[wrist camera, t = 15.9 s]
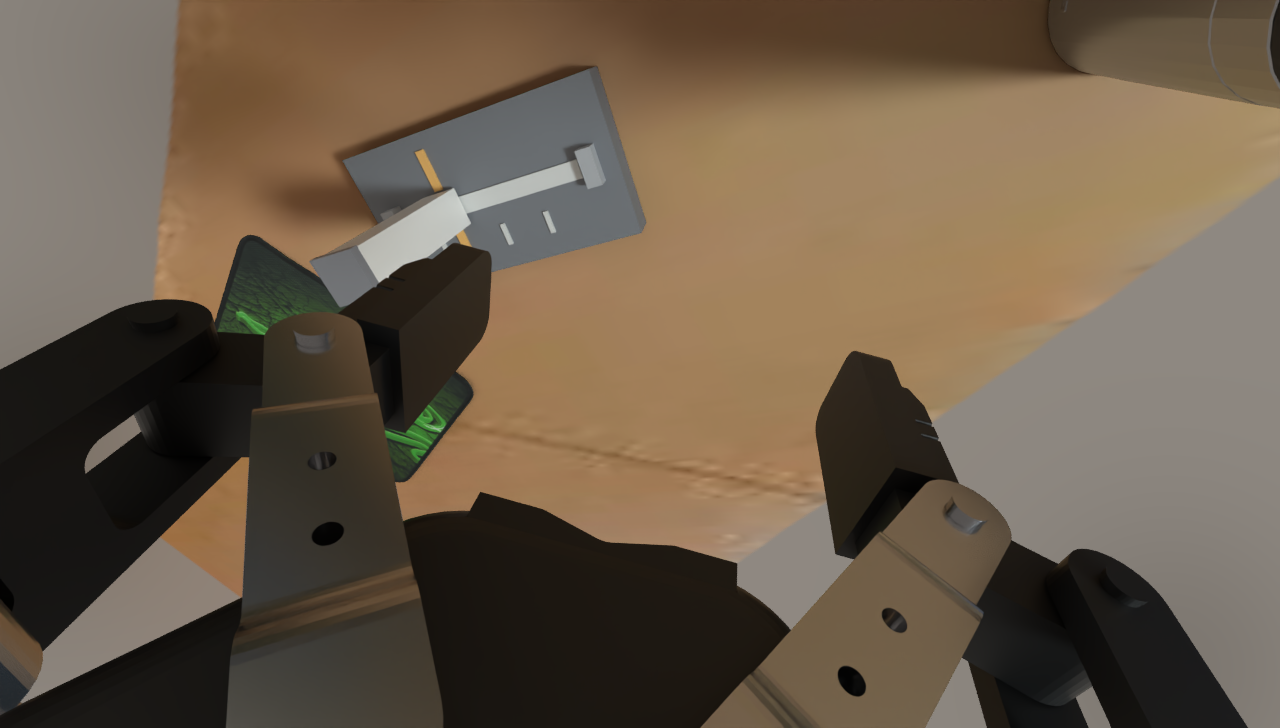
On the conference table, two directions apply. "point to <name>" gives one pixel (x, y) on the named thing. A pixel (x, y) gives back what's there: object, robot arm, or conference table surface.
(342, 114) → the conference table surface
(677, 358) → the conference table surface
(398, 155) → the console
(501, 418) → the conference table surface
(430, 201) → the fader
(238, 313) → the mouse mat
